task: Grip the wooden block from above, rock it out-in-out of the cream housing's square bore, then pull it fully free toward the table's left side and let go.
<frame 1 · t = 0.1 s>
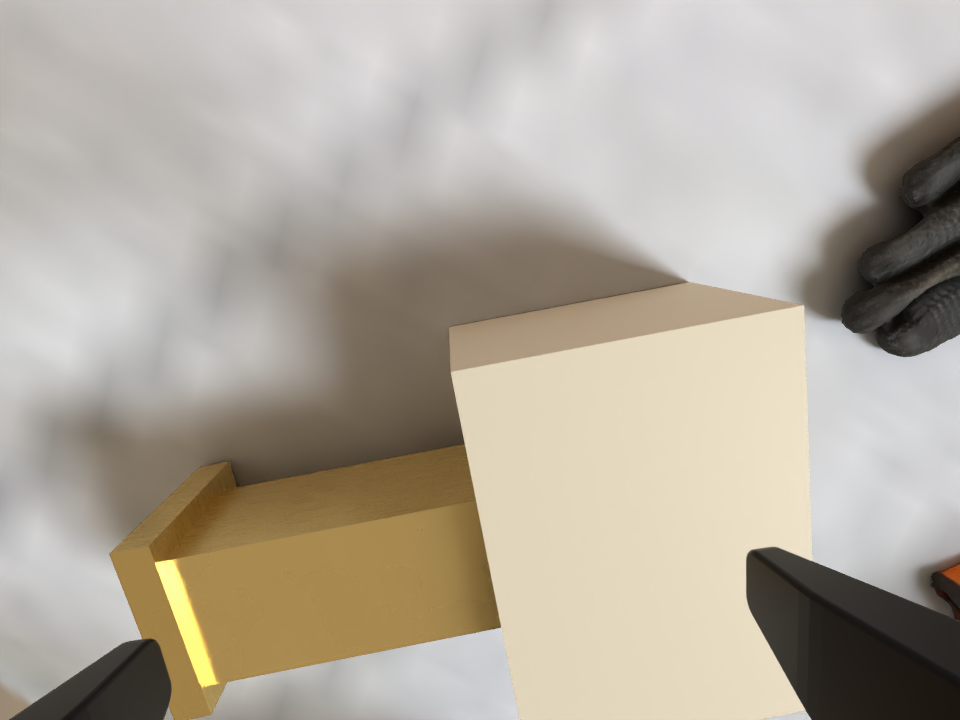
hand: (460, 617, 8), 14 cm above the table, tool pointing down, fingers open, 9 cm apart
housing: (591, 461, 23), on the table
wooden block: (416, 535, 20), point 3 cm above the table, slide at 0.0 cm
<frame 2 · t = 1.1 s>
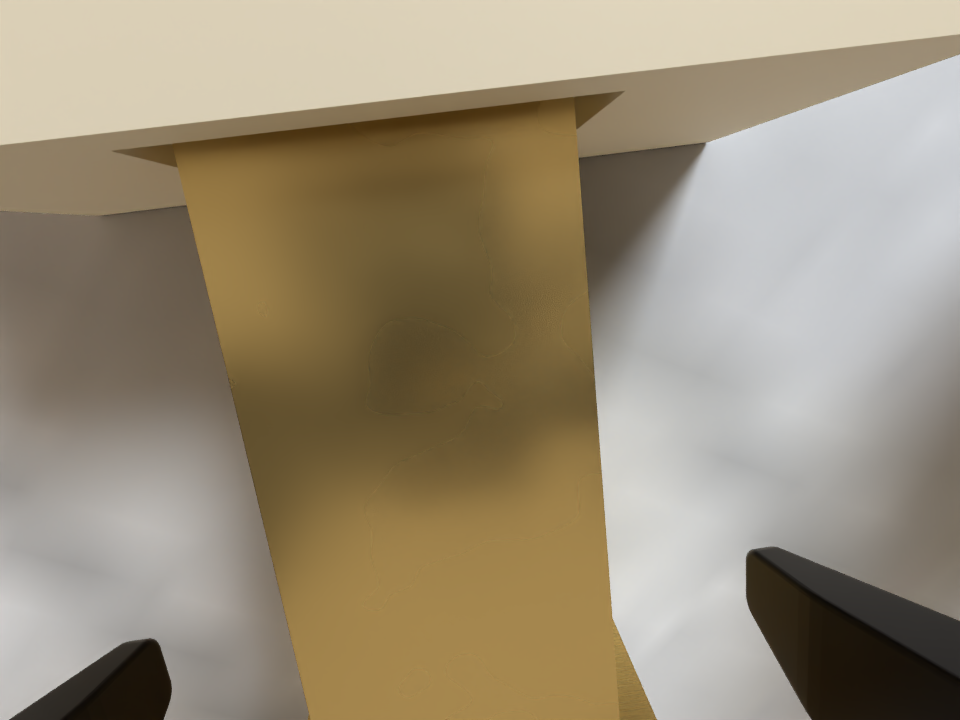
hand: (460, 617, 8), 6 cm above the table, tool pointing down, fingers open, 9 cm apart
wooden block: (419, 310, 10), point 3 cm above the table, slide at 0.0 cm
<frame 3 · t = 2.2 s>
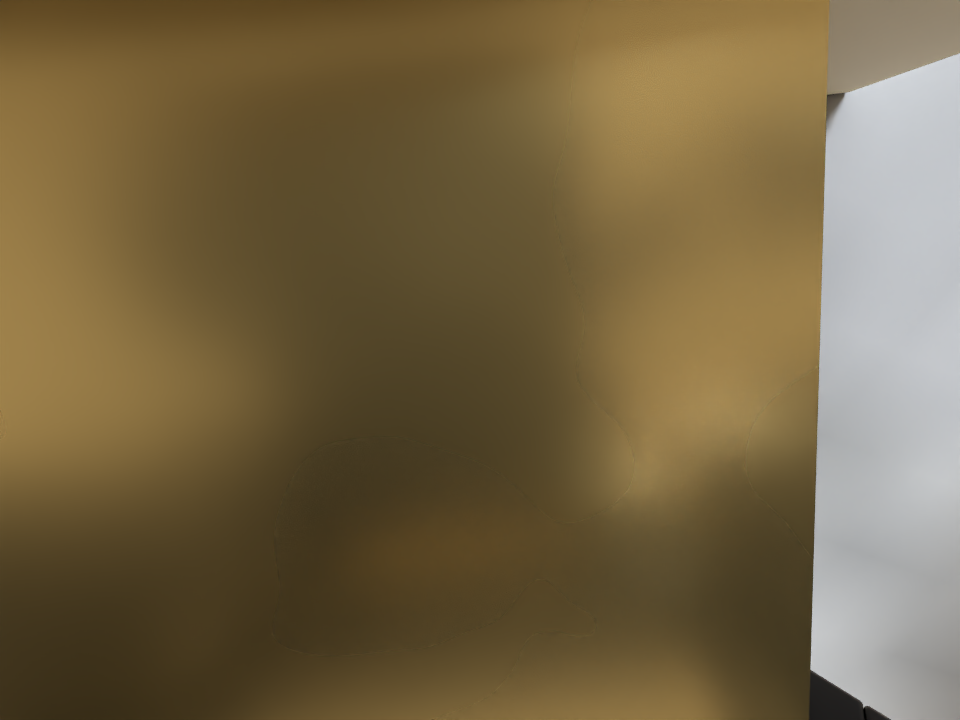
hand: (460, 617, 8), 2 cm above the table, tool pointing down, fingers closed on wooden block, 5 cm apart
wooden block: (409, 364, 5), point 3 cm above the table, slide at 0.0 cm, touching gripper
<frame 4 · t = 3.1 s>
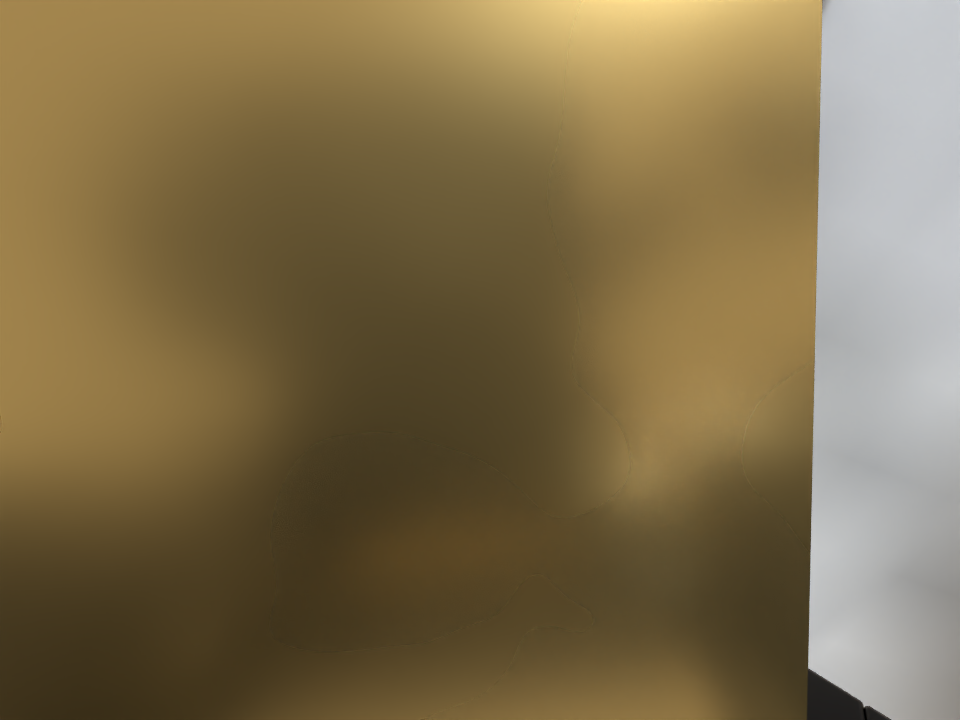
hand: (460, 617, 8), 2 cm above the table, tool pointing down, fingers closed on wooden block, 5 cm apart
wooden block: (407, 362, 5), point 3 cm above the table, slide at 1.8 cm, touching gripper
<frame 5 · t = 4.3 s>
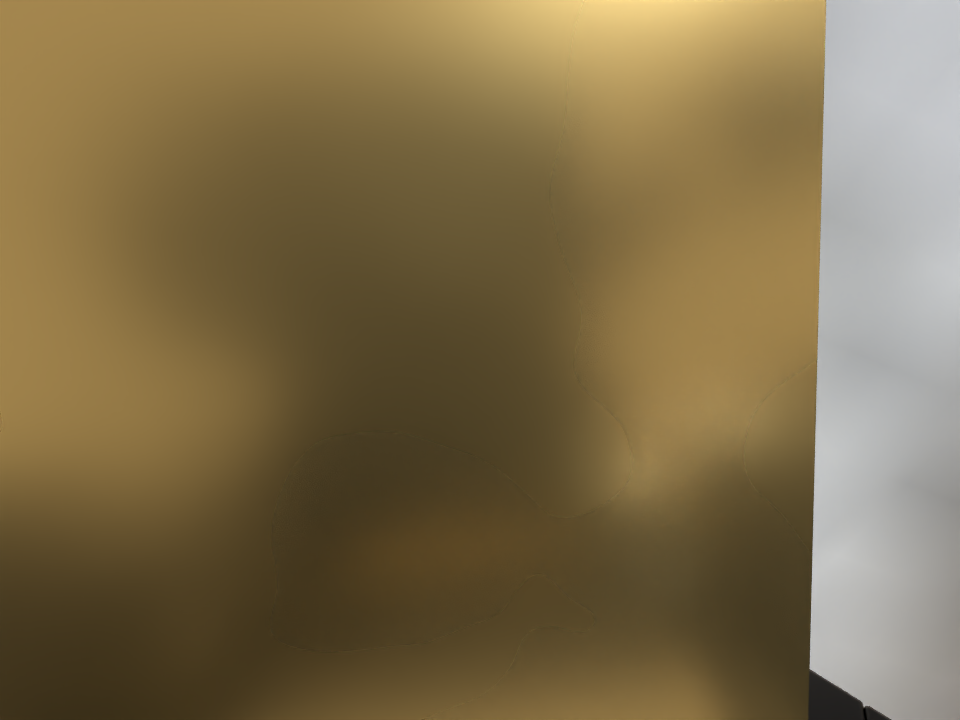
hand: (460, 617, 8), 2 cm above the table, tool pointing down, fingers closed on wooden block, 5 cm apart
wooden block: (407, 362, 5), point 3 cm above the table, slide at 3.8 cm, touching gripper
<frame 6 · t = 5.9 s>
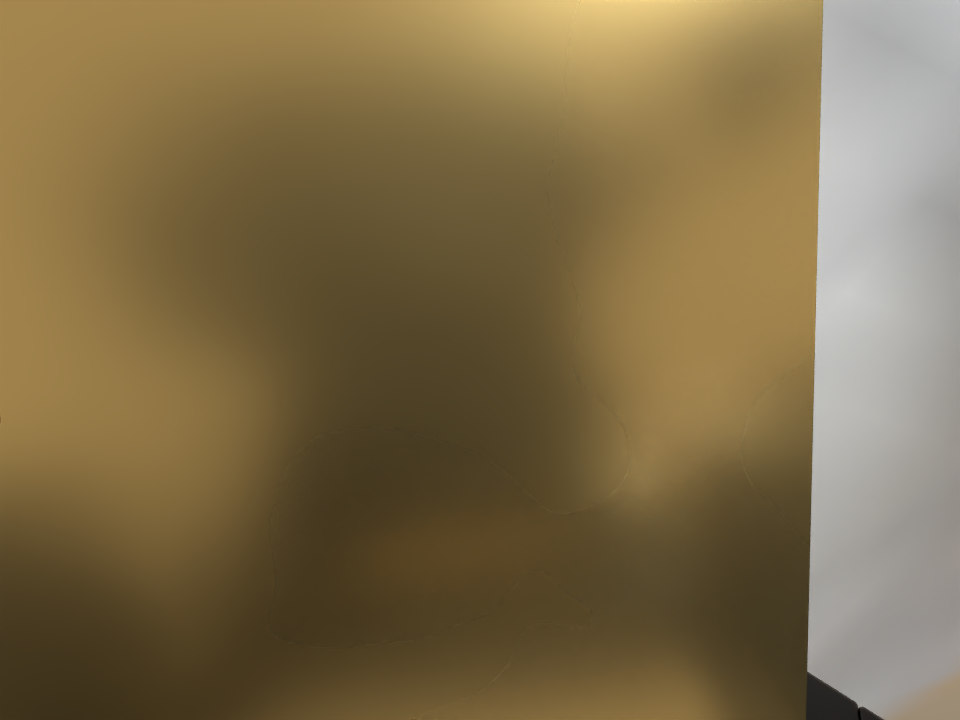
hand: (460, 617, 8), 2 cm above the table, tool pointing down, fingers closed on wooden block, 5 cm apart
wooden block: (406, 360, 5), point 3 cm above the table, slide at 8.8 cm, touching gripper
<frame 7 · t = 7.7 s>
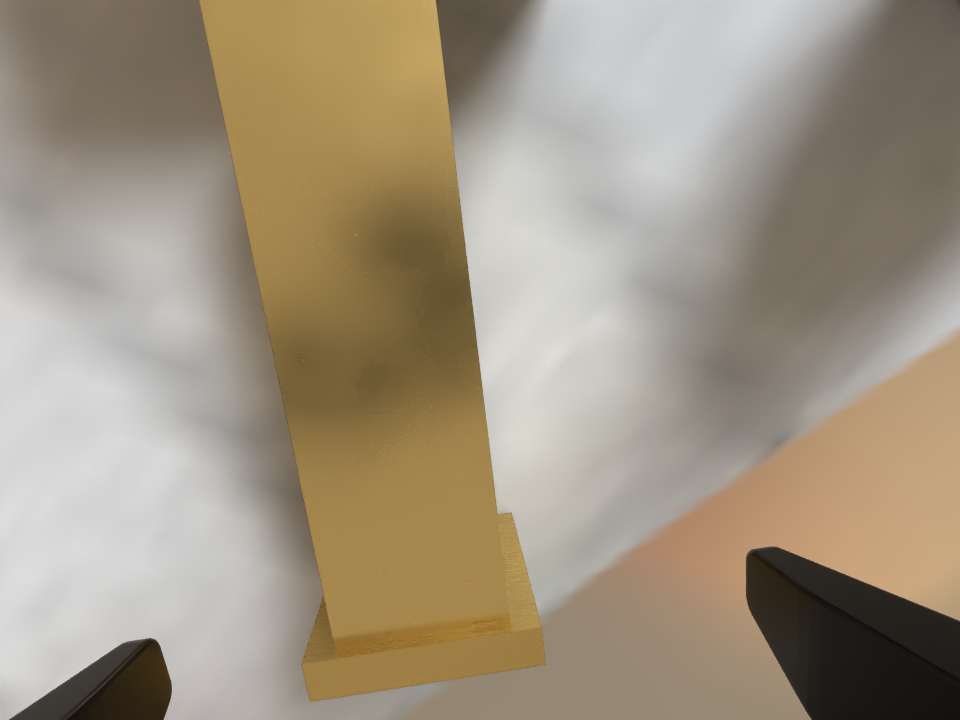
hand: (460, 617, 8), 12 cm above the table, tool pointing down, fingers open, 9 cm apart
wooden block: (390, 350, 16), point 3 cm above the table, slide at 8.9 cm
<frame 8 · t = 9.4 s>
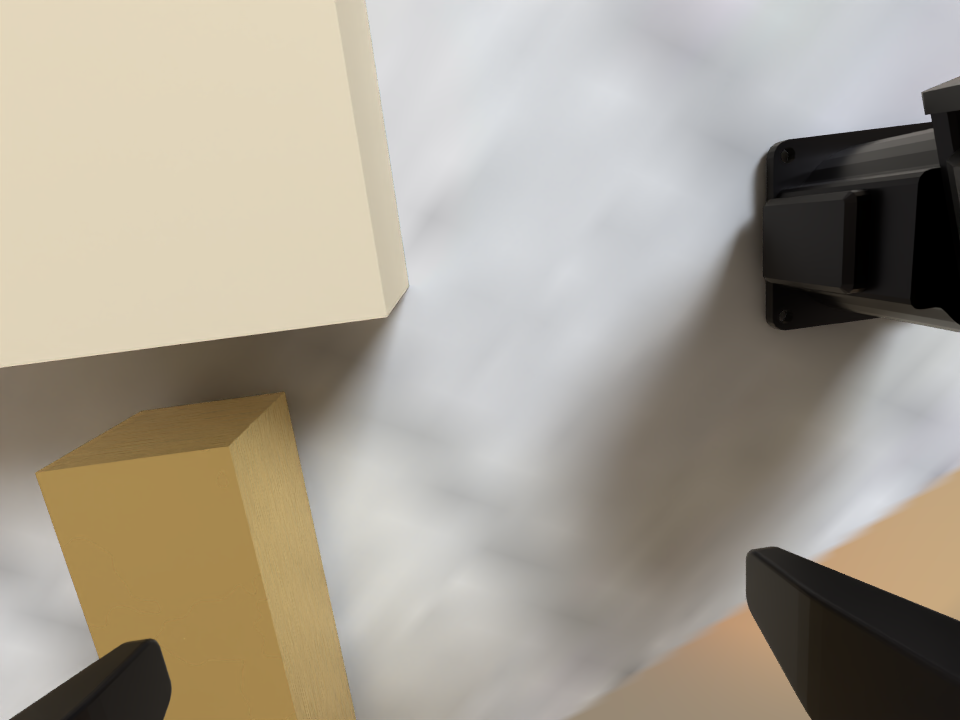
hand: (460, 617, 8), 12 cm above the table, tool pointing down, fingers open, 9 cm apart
housing: (170, 160, 17), on the table
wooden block: (247, 661, 18), point 3 cm above the table, slide at 8.9 cm
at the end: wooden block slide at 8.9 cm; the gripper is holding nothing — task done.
